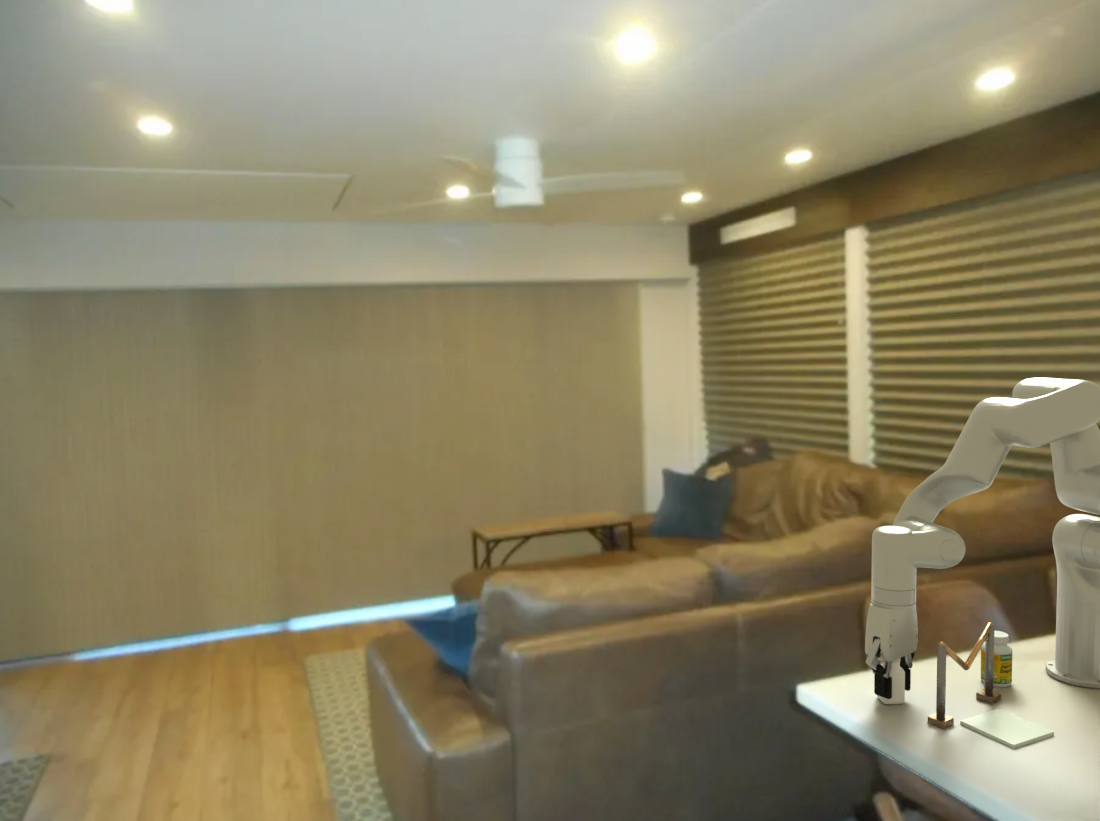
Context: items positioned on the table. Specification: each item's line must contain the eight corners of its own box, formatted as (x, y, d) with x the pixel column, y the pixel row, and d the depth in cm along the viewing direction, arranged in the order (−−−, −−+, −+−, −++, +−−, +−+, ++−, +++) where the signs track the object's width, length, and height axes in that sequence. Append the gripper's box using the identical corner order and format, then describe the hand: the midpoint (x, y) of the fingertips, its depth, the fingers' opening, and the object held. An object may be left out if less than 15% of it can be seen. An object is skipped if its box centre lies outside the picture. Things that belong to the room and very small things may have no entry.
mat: (999, 712, 151) (999, 708, 151) (1053, 735, 142) (1054, 731, 142) (960, 723, 146) (960, 720, 146) (1013, 748, 137) (1013, 744, 137)
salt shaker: (905, 705, 154) (906, 654, 154) (883, 705, 154) (884, 654, 154) (896, 695, 158) (897, 646, 158) (875, 696, 158) (875, 646, 157)
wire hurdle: (984, 694, 158) (986, 618, 157) (1000, 700, 156) (1002, 622, 154) (927, 723, 147) (928, 641, 146) (944, 729, 145) (945, 646, 143)
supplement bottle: (989, 674, 167) (991, 627, 166) (1017, 683, 163) (1018, 634, 162) (974, 681, 164) (975, 632, 163) (1002, 690, 160) (1003, 640, 159)
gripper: (901, 582, 162) (900, 674, 164) (846, 599, 152) (846, 697, 154) (939, 590, 156) (937, 687, 158) (884, 609, 146) (883, 711, 148)
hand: (892, 691), depth 156 cm, fingers closed on salt shaker, 5 cm apart
